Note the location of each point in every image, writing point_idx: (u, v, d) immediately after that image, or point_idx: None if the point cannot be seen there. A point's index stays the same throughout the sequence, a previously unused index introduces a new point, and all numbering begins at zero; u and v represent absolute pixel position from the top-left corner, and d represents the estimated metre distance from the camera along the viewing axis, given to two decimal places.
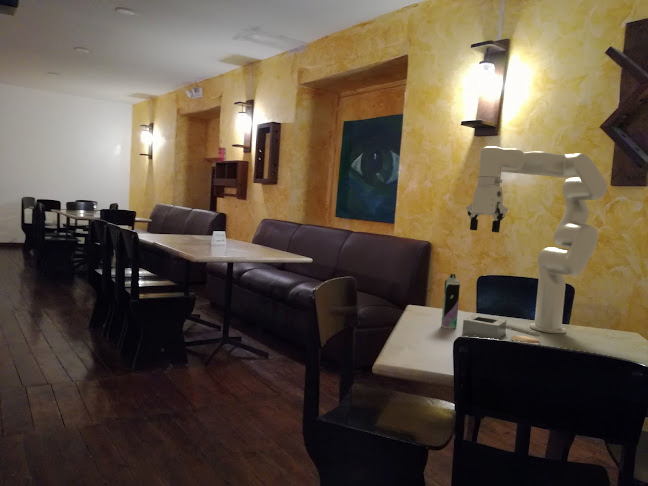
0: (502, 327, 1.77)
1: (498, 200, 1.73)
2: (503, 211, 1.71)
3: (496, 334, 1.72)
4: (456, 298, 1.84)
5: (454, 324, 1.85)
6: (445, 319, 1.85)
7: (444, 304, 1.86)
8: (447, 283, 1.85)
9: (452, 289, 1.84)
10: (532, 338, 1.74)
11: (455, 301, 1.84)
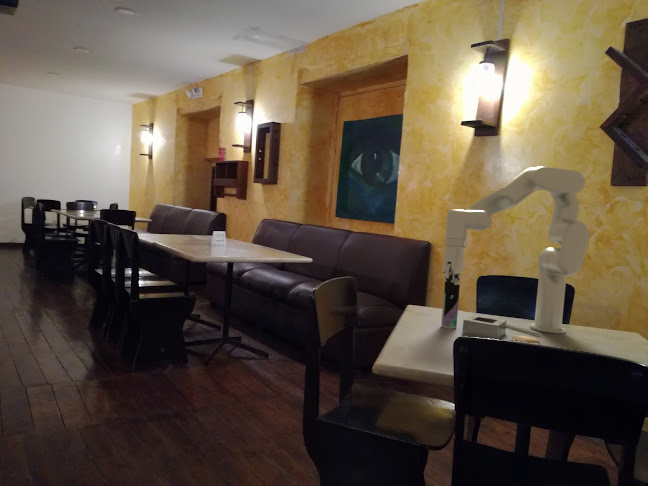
0: (502, 327, 1.77)
1: None
2: None
3: (496, 334, 1.72)
4: (456, 298, 1.84)
5: (454, 324, 1.85)
6: (445, 319, 1.85)
7: (444, 304, 1.86)
8: None
9: None
10: (532, 338, 1.74)
11: (455, 301, 1.84)
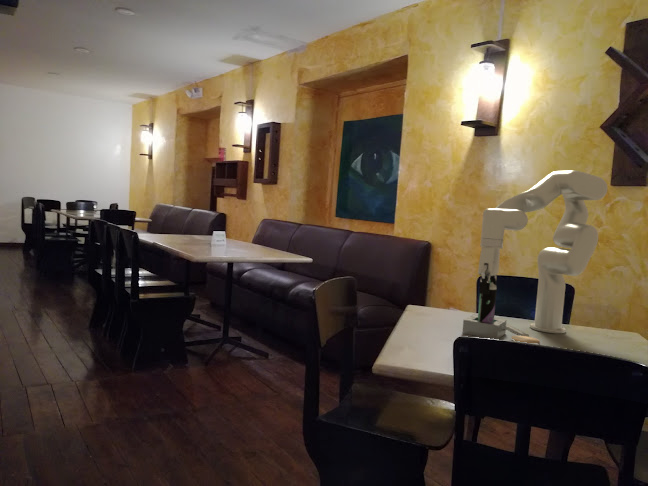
0: (502, 327, 1.77)
1: None
2: None
3: (496, 334, 1.72)
4: (493, 303, 1.77)
5: None
6: None
7: (480, 310, 1.79)
8: None
9: (489, 294, 1.77)
10: (532, 338, 1.74)
11: (492, 307, 1.77)
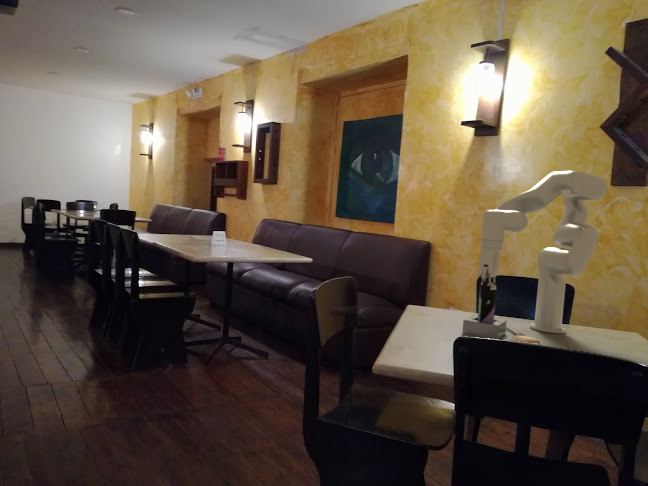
0: (502, 327, 1.77)
1: None
2: None
3: (496, 334, 1.72)
4: (493, 303, 1.77)
5: None
6: None
7: (480, 310, 1.79)
8: None
9: None
10: (532, 338, 1.74)
11: (492, 307, 1.77)
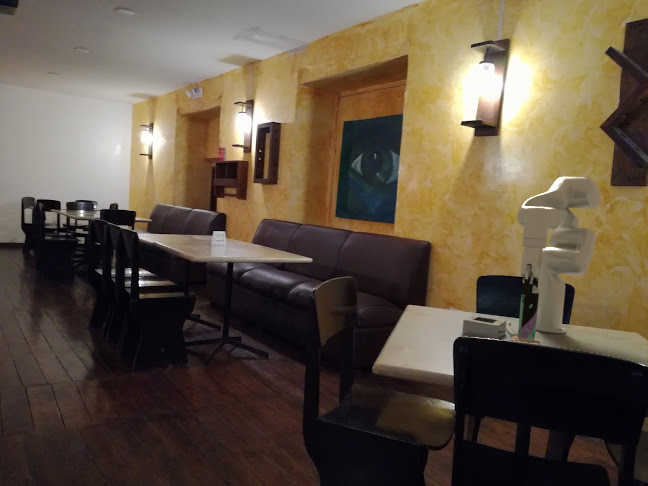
0: (502, 327, 1.77)
1: None
2: None
3: (496, 334, 1.72)
4: (535, 308, 1.70)
5: (533, 336, 1.70)
6: (523, 330, 1.71)
7: (522, 314, 1.71)
8: None
9: (532, 298, 1.69)
10: None
11: (535, 311, 1.70)
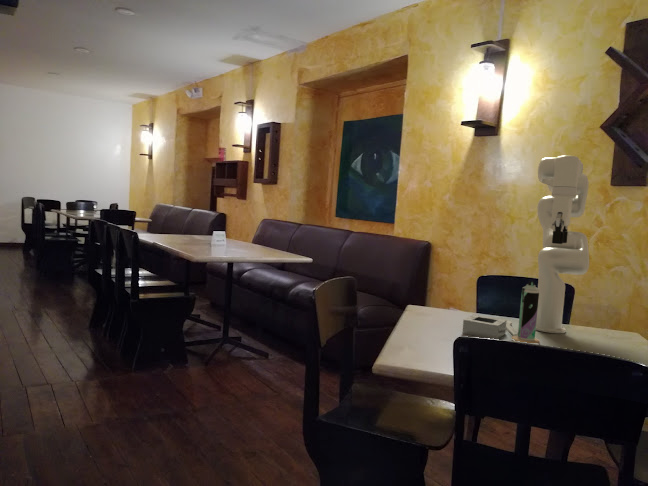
0: (502, 327, 1.77)
1: None
2: None
3: (496, 334, 1.72)
4: (535, 308, 1.70)
5: (533, 336, 1.70)
6: (523, 330, 1.71)
7: (522, 314, 1.71)
8: (525, 291, 1.70)
9: (532, 298, 1.69)
10: None
11: (535, 311, 1.70)
